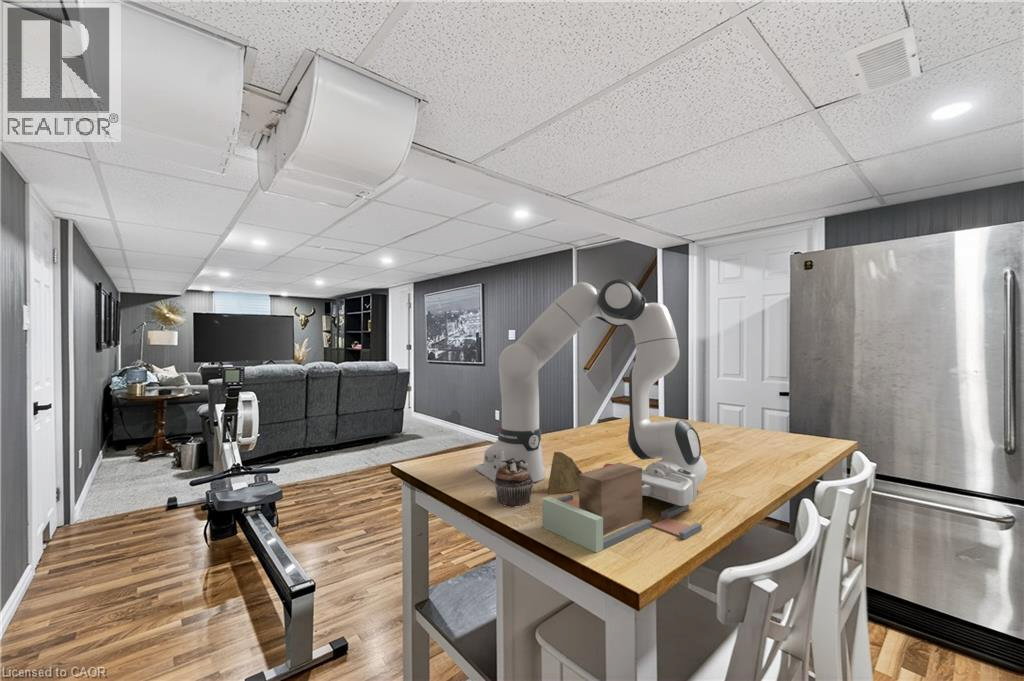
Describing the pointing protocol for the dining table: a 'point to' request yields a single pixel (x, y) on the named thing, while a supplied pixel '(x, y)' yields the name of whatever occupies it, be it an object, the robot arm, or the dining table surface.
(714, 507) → the dining table surface
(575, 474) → the rock
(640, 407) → the robot arm
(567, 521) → the green panel rail frame
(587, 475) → the walnut block
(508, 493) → the cupcake
